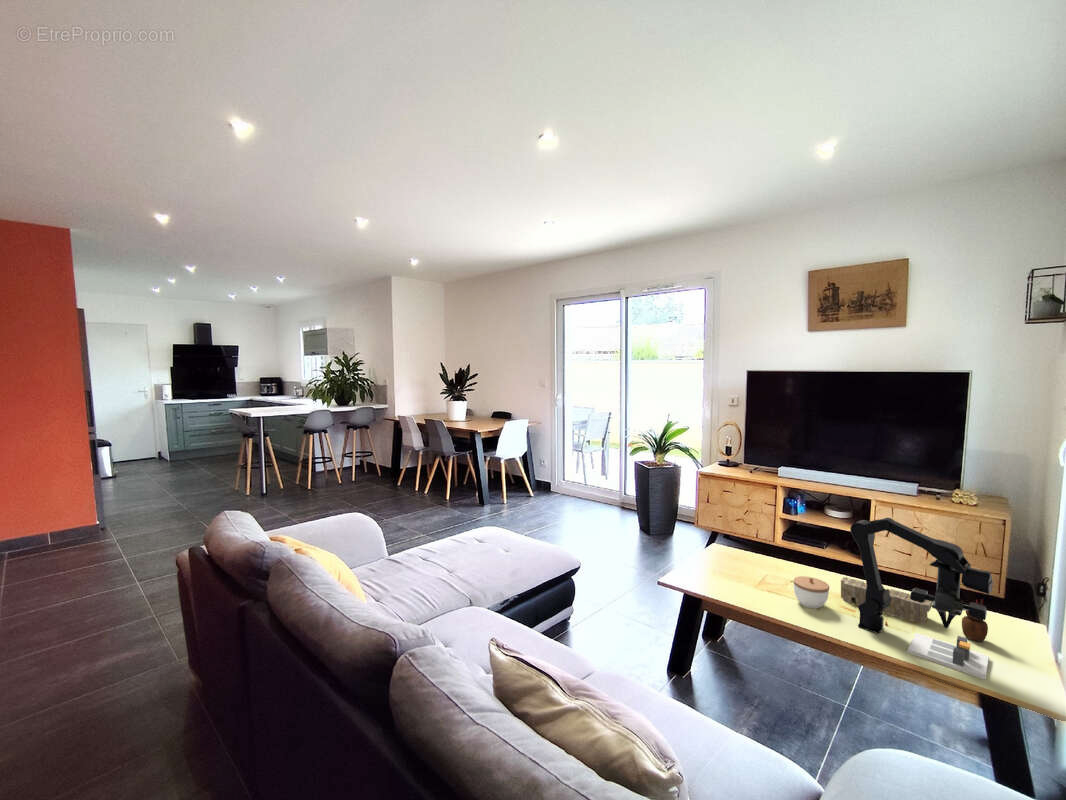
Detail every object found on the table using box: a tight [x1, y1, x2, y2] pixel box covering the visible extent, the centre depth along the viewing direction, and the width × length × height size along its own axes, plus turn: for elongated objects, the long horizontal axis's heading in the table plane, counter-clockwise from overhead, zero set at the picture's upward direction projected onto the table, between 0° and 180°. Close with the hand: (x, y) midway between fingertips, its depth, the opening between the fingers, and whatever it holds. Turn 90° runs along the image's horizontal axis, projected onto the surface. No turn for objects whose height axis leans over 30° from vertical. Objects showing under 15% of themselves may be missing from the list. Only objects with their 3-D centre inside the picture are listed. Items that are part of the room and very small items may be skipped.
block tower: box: [840, 576, 933, 625], centre depth 188 cm, size 8×8×29 cm
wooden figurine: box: [961, 598, 989, 642], centre depth 166 cm, size 7×6×15 cm
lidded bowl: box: [793, 575, 830, 610], centre depth 192 cm, size 13×13×11 cm
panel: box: [907, 632, 990, 680], centre depth 156 cm, size 19×15×5 cm
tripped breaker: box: [959, 641, 971, 661], centre depth 153 cm, size 2×3×4 cm
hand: (946, 627), depth 157 cm, fingers closed
